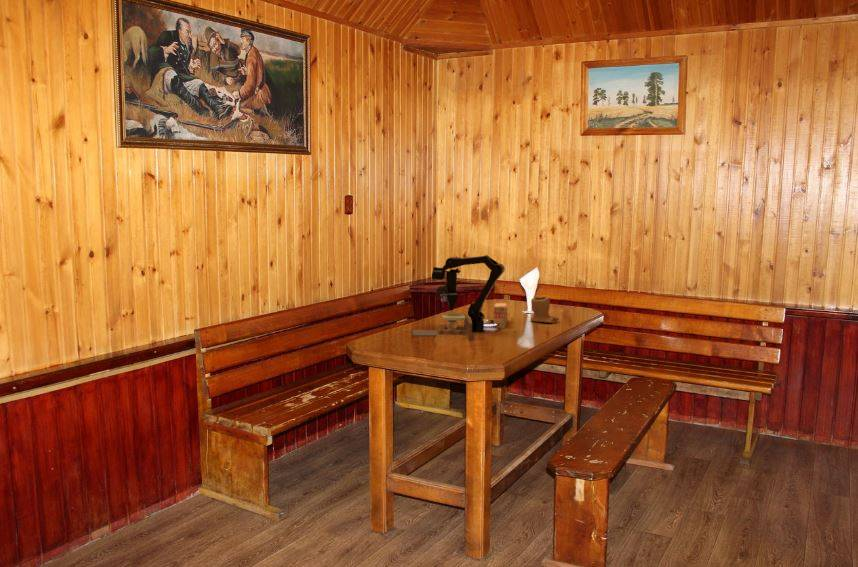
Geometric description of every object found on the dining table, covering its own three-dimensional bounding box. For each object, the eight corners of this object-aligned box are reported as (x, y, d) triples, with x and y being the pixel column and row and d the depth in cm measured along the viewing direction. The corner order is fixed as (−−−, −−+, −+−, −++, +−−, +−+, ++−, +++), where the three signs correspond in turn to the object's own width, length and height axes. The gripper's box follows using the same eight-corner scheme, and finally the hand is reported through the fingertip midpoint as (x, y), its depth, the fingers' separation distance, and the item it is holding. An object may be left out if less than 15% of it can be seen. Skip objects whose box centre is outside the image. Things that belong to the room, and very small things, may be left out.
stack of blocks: (496, 321, 424) (496, 300, 423) (507, 321, 423) (507, 300, 422) (493, 328, 404) (494, 306, 402) (504, 329, 403) (505, 306, 401)
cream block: (455, 331, 390) (455, 320, 390) (456, 333, 386) (456, 321, 385) (447, 331, 390) (447, 320, 389) (447, 333, 386) (448, 321, 385)
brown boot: (526, 322, 421) (527, 296, 419) (534, 319, 432) (535, 294, 429) (551, 325, 414) (552, 299, 412) (559, 322, 424) (560, 296, 422)
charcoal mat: (435, 332, 389) (435, 330, 389) (436, 337, 377) (436, 335, 377) (412, 332, 388) (412, 330, 388) (413, 337, 376) (413, 334, 376)
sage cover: (464, 317, 391) (464, 312, 391) (465, 320, 384) (465, 315, 383) (442, 317, 391) (442, 312, 390) (443, 320, 383) (443, 315, 383)
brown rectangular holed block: (466, 330, 395) (467, 314, 393) (471, 341, 370) (472, 323, 369) (437, 330, 394) (438, 314, 393) (440, 340, 369) (441, 323, 368)
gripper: (435, 278, 402) (434, 306, 404) (437, 283, 384) (436, 312, 386) (455, 278, 403) (455, 306, 405) (458, 283, 384) (458, 312, 386)
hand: (450, 309), depth 395 cm, fingers open, 6 cm apart
